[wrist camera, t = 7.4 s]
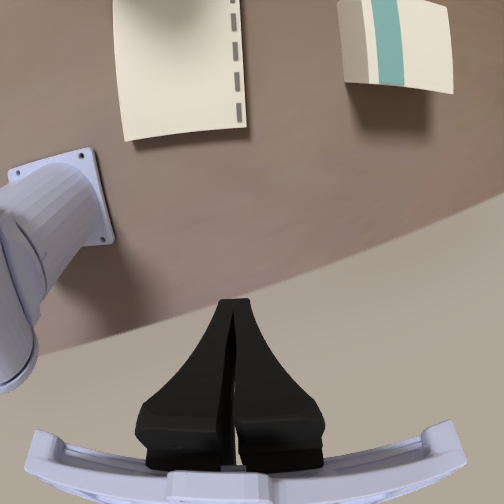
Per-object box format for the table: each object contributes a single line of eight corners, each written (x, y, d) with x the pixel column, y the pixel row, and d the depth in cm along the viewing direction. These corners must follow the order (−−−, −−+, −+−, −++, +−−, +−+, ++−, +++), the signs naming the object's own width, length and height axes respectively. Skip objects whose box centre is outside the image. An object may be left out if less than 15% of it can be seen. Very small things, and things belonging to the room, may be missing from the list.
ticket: (131, 138, 18) (124, 141, 17) (119, -15, 12) (112, -20, 11) (246, 124, 18) (246, 127, 17) (237, -36, 12) (236, -43, 11)
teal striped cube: (343, 82, 17) (369, 83, 13) (335, 3, 14) (359, -14, 10) (417, 88, 17) (454, 94, 13) (412, 15, 14) (447, 7, 10)
